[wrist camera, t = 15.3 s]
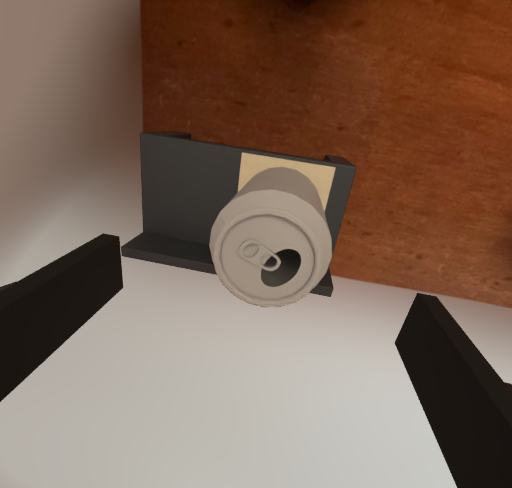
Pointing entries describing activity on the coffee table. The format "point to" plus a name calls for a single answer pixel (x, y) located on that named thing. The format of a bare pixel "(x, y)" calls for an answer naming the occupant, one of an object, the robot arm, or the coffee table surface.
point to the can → (272, 239)
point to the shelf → (216, 195)
